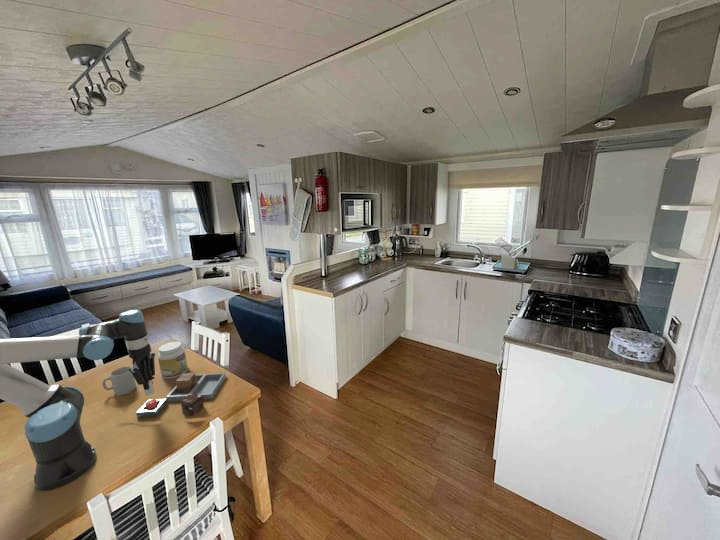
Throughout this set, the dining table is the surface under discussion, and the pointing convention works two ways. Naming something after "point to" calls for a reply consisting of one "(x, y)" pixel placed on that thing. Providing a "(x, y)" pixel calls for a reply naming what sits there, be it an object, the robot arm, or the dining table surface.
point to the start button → (151, 404)
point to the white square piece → (145, 412)
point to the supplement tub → (172, 360)
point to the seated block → (186, 382)
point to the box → (192, 404)
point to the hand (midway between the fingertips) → (150, 393)
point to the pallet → (200, 387)
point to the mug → (121, 381)
